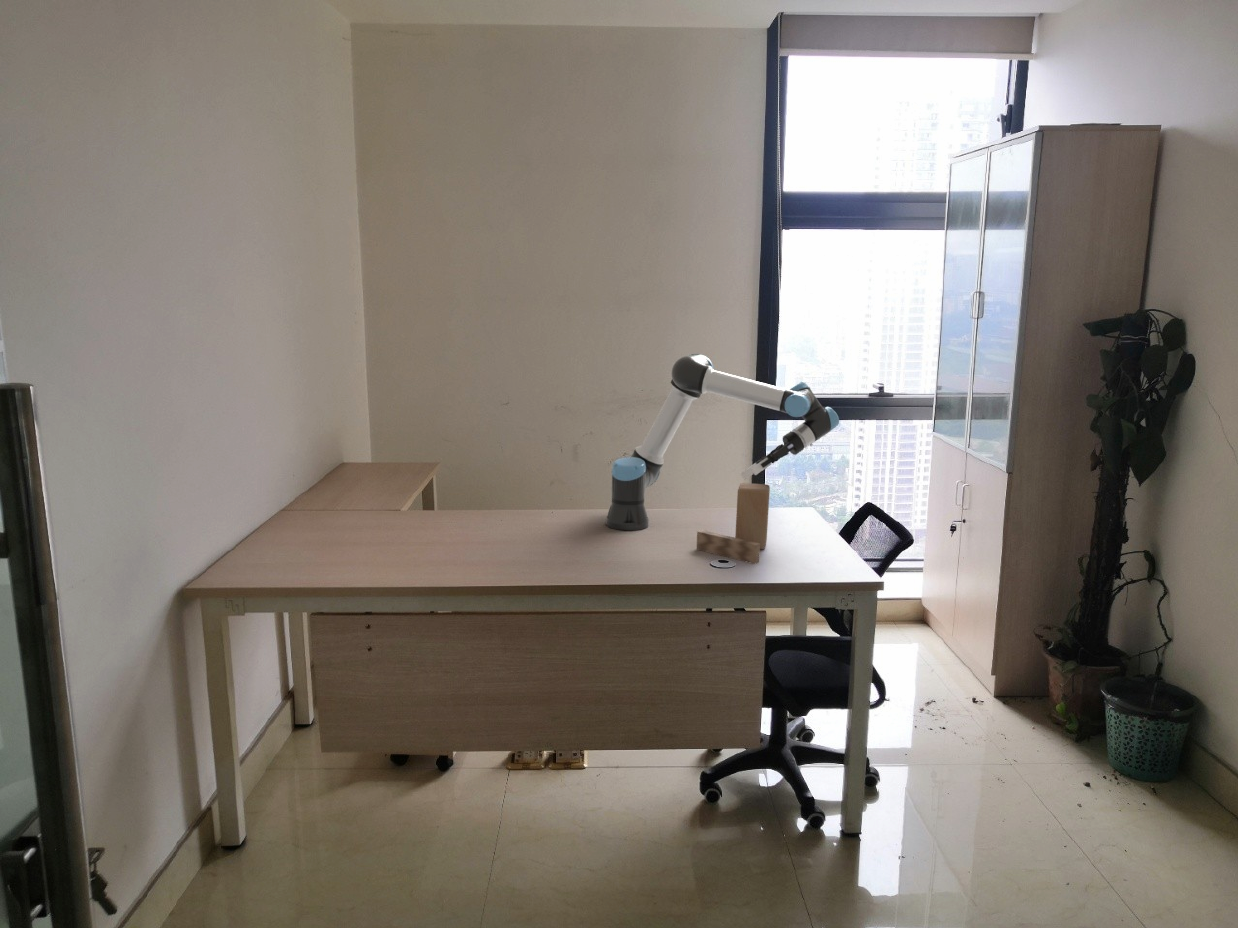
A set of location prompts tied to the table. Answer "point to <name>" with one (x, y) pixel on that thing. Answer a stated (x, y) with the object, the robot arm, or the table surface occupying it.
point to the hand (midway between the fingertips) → (747, 474)
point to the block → (752, 513)
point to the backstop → (728, 546)
